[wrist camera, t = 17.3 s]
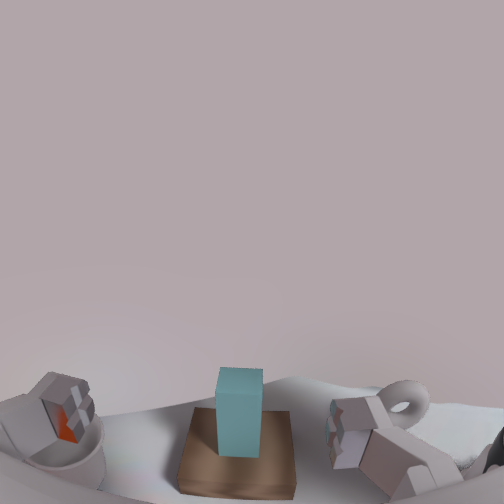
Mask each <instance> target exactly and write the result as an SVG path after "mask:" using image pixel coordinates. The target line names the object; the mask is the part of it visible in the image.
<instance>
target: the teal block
mask: <svg viewBox="0 0 504 504" xmlns="http://www.w3.org/2000/svg"><path fill="white" fill-rule="evenodd" d="M215 394H216V395H215V396H216V417H217V435H218V451H219V456H231V457H252V458H259V446H260V430H261V414H262V397H263V369H248V368H227V367H221V368H220V372H219V377H218V382H217V387H216V391H215Z"/></svg>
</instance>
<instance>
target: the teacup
mask: <svg viewBox="0 0 504 504" xmlns="http://www.w3.org/2000/svg"><path fill="white" fill-rule="evenodd" d="M84 429H85V433H84V435H83V437H82V438H81V440H80V441H79V443H78V444H76V443H72V442H69V441H65V440H62V439H59V438H58V440H56V441H55V442H53V443H52V444H50V445H48V446H47V447H45V448H43V449H42V450H40V451H38V452H37V453H35V454H33V455H32V456H30V457H28V458H27V459H25V461H26V462H28V463H30V464H31V465H33V466H35V467H36V468H38V469H40V470H43V471H45V472H48V473H50V474H53V475H55V476H58V477H61V478H63V479H66V480H69V481H72V482H75V483H78V484H81V485H84V486H87V487H90V488H93V489H98V487H99V485H100V484H101V482H102V481H103V479H104V477H105V473H106V462H105V457H104V452H103V448H102V442H103V439H104V428H103V424H102V422H101V420H100V418H99V417H98V416H97V415H96V414H95V413H94V417H93V420H92V422H91V423H90V424H89V425H87V426H85V427H84Z"/></svg>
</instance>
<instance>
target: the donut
mask: <svg viewBox="0 0 504 504" xmlns="http://www.w3.org/2000/svg"><path fill="white" fill-rule="evenodd" d="M377 396H379V398H380V400H381V402H382V404H383V406H384V408H385V410H386V412H387V414H388V416H389V418H390V420H391V422H392V424H393V426H398V427H400V428H402V429H404V430H405V429H408V428H410V427H412V426H413V425H415V424H416V423H418V422H419V421H420V420H421V419H422V418H423V417H424V415H425V414H426V412H427V410H428V408H429V403H430V397H429V392H428V390H427V389H426V388H425V387H424V385H423V384H420V383H418V382H416V381H410V380H404V381H398V382H395V383H393V384H390V385H388V386H387V387H385V388H384V389H382V390H381V391H380V392H379V393H378V394H377ZM401 402H409V403H410V404H409V405H408V407H407V408H406V409H404V410H402V411H400V412H396V413H394V412H390V410H391V409H392V408H393V407H394V406H395V405H397V404H399V403H401Z"/></svg>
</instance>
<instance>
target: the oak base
mask: <svg viewBox="0 0 504 504" xmlns="http://www.w3.org/2000/svg"><path fill="white" fill-rule="evenodd" d="M177 480H178V484H179V488H180V492H181V494H186V495H194V496H203V497H213V498H225V499H243V500H293V497H294V493H295V489H296V484H297V483H296V472H295V462H294V452H293V443H292V433H291V424H290V414H289V411H262V414H261V430H260V446H259V458H252V457H231V456H219V451H218V435H217V417H216V409H209V408H198V407H195V409H194V413H193V417H192V420H191V424H190V428H189V432H188V436H187V440H186V444H185V447H184V451H183V455H182V459H181V463H180V467H179V471H178V475H177Z"/></svg>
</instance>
